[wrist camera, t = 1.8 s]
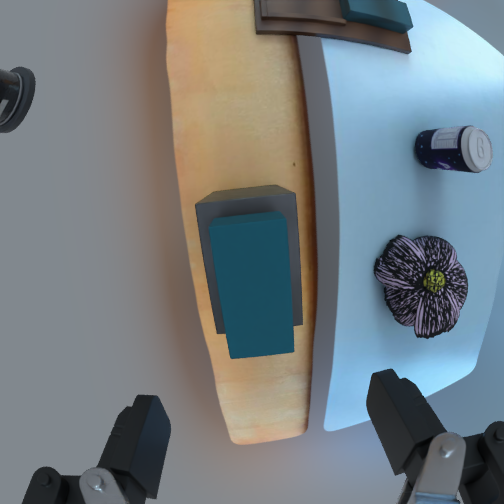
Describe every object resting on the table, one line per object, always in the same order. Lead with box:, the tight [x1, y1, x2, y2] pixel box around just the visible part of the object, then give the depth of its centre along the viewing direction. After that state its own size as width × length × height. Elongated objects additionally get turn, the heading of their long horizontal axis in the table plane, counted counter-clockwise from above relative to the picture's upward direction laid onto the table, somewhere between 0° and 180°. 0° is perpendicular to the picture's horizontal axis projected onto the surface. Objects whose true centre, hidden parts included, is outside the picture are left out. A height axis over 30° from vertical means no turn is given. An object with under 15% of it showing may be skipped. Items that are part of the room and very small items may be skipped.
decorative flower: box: [374, 235, 468, 339], centre depth 34 cm, size 15×12×15 cm
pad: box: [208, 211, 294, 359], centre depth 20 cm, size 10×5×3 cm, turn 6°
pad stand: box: [195, 185, 303, 334], centre depth 28 cm, size 12×8×15 cm, turn 6°
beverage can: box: [415, 126, 493, 173], centre depth 27 cm, size 6×6×12 cm
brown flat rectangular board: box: [254, 0, 413, 54], centre depth 24 cm, size 23×11×4 cm, turn 93°
